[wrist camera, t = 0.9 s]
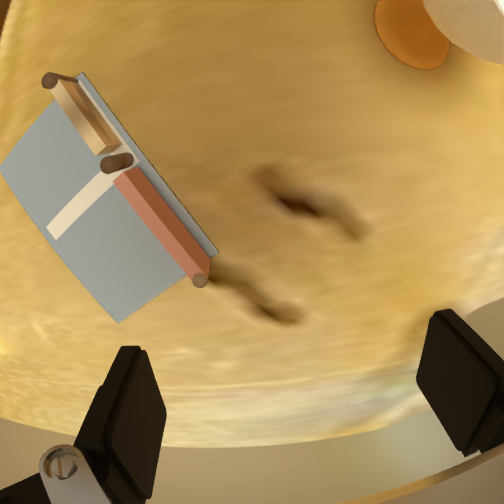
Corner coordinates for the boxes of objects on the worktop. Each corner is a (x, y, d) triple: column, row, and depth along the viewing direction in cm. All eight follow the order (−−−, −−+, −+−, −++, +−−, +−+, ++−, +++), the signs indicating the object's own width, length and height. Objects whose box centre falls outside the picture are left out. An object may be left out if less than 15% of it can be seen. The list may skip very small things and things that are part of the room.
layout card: (-1, 168, 26) (-3, 168, 26) (83, 72, 24) (81, 71, 23) (118, 322, 33) (117, 323, 33) (219, 251, 31) (218, 252, 30)
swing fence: (128, 174, 27) (111, 182, 23) (138, 166, 27) (122, 172, 23) (203, 269, 30) (198, 290, 26) (213, 262, 30) (210, 282, 26)
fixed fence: (64, 85, 24) (39, 80, 19) (74, 75, 24) (50, 69, 19) (125, 170, 27) (106, 177, 23) (136, 161, 27) (119, 166, 23)
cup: (466, 23, 23) (577, -4, 7) (441, 103, 26) (574, 106, 10) (379, -37, 21) (466, -115, 5) (344, 42, 24) (448, -30, 8)
